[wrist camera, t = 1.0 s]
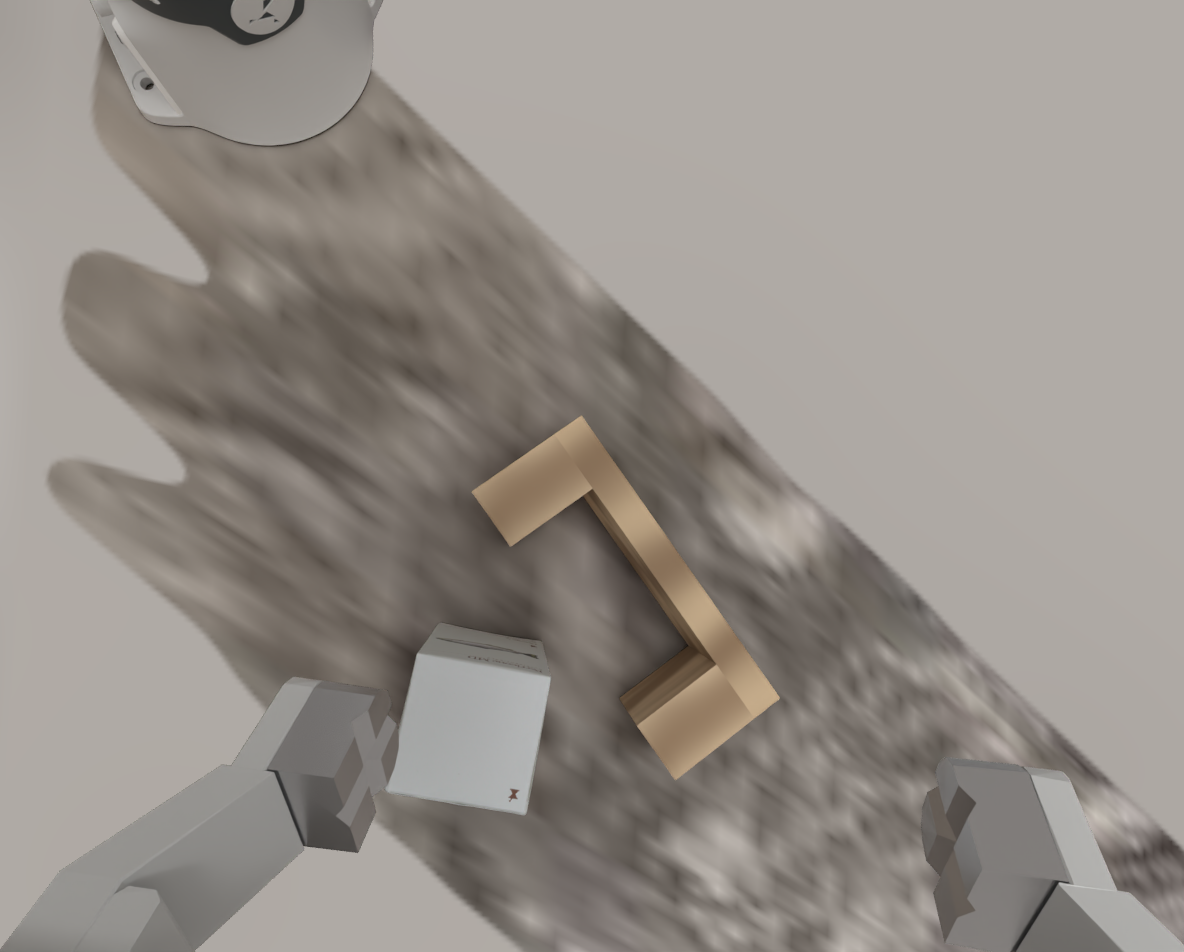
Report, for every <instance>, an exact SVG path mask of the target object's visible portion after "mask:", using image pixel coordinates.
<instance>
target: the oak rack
mask: <svg viewBox="0 0 1184 952" xmlns="http://www.w3.org/2000/svg"><path fill="white" fill-rule="evenodd" d="M471 492H472V493H473V494H474V496H475V497H476V499H477V500H478V502H479V503H480V504H481V506H482V507H483V509H484V510H485V511H486V513H487V514H488V516H489V517H490V519H491V520H492V521H493V523H494V524H495V526H496V527H497V528H498V530H499V531H500V533H501V534H502V536H503V537H504V538H505V540H506V541H507V543H508V544H509V545H510V547H511V546H512V545H514V544H515V543H517V542H518V541H520V540H521V539H522V538H524V537H525V536H527V535H528V534H529V533H531V532H532V531H534V530H535V529H536V528H538V527H539V526H541V525H542V524H543V523H545V522H546V521H548V520H549V519H551V518H552V517H553V516H555V515H556V514H558V513H559V512H560V511H562V510H563V509H565V508H566V507H567V506H569V505H570V504H572V503H573V502H575V501H576V500H577V499H579V498H580V497H582V496H583V497H584V498H585V499H586V501H587V502H588V504H589V505H590V507H591V508H592V509H593V511H594V512H595V514H596V515H597V517H598V518H599V519H600V521H601V522H602V524H603V525H604V526H605V528H606V529H607V531H608V532H609V534H610V535H611V536H612V538H613V539H614V541H615V542H616V544H617V545H618V546H619V548H620V549H621V551H622V552H623V553H624V555H625V556H626V558H627V559H628V561H629V562H630V563H631V565H632V566H633V568H634V569H635V571H636V572H637V573H638V575H639V576H640V578H641V579H642V580H643V582H644V583H645V585H646V586H647V588H648V589H649V590H650V592H651V593H652V595H653V596H654V598H655V599H656V600H657V602H658V603H659V605H660V606H661V607H662V609H663V610H664V612H665V613H666V615H667V616H668V617H669V619H670V620H671V622H672V623H673V625H674V626H675V627H676V629H677V630H678V632H679V633H680V634H681V636H682V637H683V639H684V640H685V642H686V643H687V644H688V646H687V647H686V648H685V649H684V650H682V651H681V652H680V653H678V654H677V655H676V656H674V657H673V658H672V659H670V660H669V661H668V662H666V663H665V664H664V665H662V666H661V667H660V668H658V669H657V670H656V671H654V672H653V673H652V674H651V675H649V676H648V677H647V678H645V679H644V680H643V681H641V682H640V683H639V684H637V685H636V686H635V687H633V688H632V689H631V690H629V691H628V692H627V693H625V694H624V695H623V696H621V697H620V698H619V699H620V701H621V702H622V704H623V705H624V707H625V708H626V710H627V711H628V713H629V714H630V716H631V717H632V719H633V721H634V722H635V724H636V725H637V727H638V728H639V729H640V731H641V732H642V734H643V735H644V736H645V738H646V739H647V741H648V742H649V744H650V745H651V746H652V748H653V749H654V751H655V752H656V753H657V755H658V756H659V758H660V759H661V761H662V762H663V763H664V765H665V766H666V768H667V769H668V770H669V772H670V773H671V775H672V776H673V778H674V779H675V780H677V779H678V778H679V777H680V776H682V775H683V774H684V773H685V772H687V771H688V770H689V769H691V768H692V767H693V766H694V765H696V764H697V763H698V762H699V761H701V760H702V759H703V758H705V757H706V756H707V755H708V754H710V753H711V752H712V751H713V750H715V749H716V748H717V747H719V746H720V745H721V744H722V743H724V742H725V741H726V740H727V739H729V738H730V737H731V736H733V735H734V734H735V733H736V732H738V731H739V730H740V729H741V728H743V727H744V726H745V725H747V724H748V723H749V722H750V721H752V720H753V719H754V718H755V717H757V716H758V715H759V714H761V713H762V712H763V711H764V710H766V709H767V708H768V707H770V706H771V705H772V704H773V703H775V702H776V701H777V700H778V699H780V697H779V696H778V695H777V693H776V692H775V690H774V689H773V687H772V686H771V685H770V683H769V682H768V680H767V679H766V677H765V676H764V675H763V673H762V672H761V670H760V669H759V667H758V666H757V665H756V663H755V662H754V660H753V659H752V657H751V656H750V655H749V653H748V652H747V650H746V649H745V648H744V646H743V645H742V643H741V642H740V640H739V639H738V638H737V636H736V635H735V633H734V632H733V630H732V629H731V628H730V626H729V625H728V623H727V622H726V620H725V619H724V618H723V616H722V615H721V613H720V612H719V611H718V609H717V608H716V606H715V605H714V603H713V602H712V601H711V599H710V598H709V596H708V595H707V593H706V592H705V591H704V589H703V588H702V586H701V585H700V583H699V582H698V581H697V579H696V578H695V576H694V575H693V573H692V572H691V571H690V569H689V568H688V566H687V565H686V564H685V562H684V561H683V559H682V558H681V556H680V555H679V554H678V552H677V551H676V549H675V548H674V546H673V545H672V544H671V542H670V541H669V539H668V538H667V536H666V535H665V534H664V532H663V531H662V529H661V528H660V527H659V525H658V524H657V522H656V521H655V519H654V518H653V517H652V515H651V514H650V512H649V511H648V509H647V508H646V507H645V505H644V504H643V502H642V501H641V499H640V498H639V497H638V495H637V494H636V492H635V491H634V489H633V488H632V487H631V485H630V484H629V482H628V481H627V480H626V478H625V477H624V475H623V474H622V472H621V471H620V470H619V468H618V467H617V465H616V464H615V462H614V461H613V460H612V458H611V457H610V455H609V454H608V452H607V451H606V450H605V448H604V447H603V445H602V444H601V442H600V441H599V440H598V438H597V437H596V435H595V434H594V433H593V431H592V430H591V428H590V427H589V425H588V424H587V423H586V421H585V420H584V418H583V417H582V415H581V416H580V417H578V418H577V419H576V420H574V421H573V422H571V423H570V424H568V425H567V426H565V427H564V428H563V429H561V430H560V431H558V432H557V433H555V434H554V435H552V436H551V437H550V438H548V439H547V440H545V441H544V442H542V443H541V444H539V445H538V446H537V447H535V448H534V449H532V450H531V451H529V452H528V453H526V454H525V455H524V456H522V457H521V458H519V459H518V460H516V461H515V462H513V463H512V464H511V465H509V466H508V467H506V468H505V469H503V470H502V471H500V472H499V473H498V474H496V475H495V476H493V477H492V478H490V479H489V480H487V481H486V482H484V483H483V484H482V485H480V486H479V487H477V488H476V489H474V490H473V491H471Z"/></svg>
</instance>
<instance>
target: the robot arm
mask: <svg viewBox="0 0 1184 952" xmlns="http://www.w3.org/2000/svg"><path fill="white" fill-rule="evenodd" d="M90 2H91V4H92V6H93V9H94V11H95V13H96V15H97V17H98V20H99V22H100V24H101V27H102V29H103V31H104V33H105V36H106V38H107V40H108V42H109V45H110V47H111V49H112V52H113V54H114V56H115V58H116V61H117V63H118V65H119V67H120V70H121V72H122V74H123V76H124V79H125V81H126V83H127V85H128V88H129V90H130V92H131V94H132V97H133V99H134V101H135V103H136V105H137V107H138V108H139V110H140V111H141V113H142V115H143V116H144V117H145V118H146V119H147V120H149V121H151V122H153V123H156V124H161V125H172V126H195V127H199V128H202V129H205V130H208V131H210V132H213V133H215V134H217V135H220V136H222V137H225V138H227V139H230V140H234V141H237V142H242V143H247V144H253V145H282V144H289V143H294V142H298V141H301V140H305V139H307V138H310V137H313V136H315V135H317V134H319V133H321V132H323V131H324V130H326V129H328V128H329V127H331V126H332V125H334V124H335V123H336V122H338V121H339V120H340V119H341V118H342V117H343V116H344V115H345V114H346V113H347V112H348V111H349V110H350V109H351V108H352V107H353V105H354V104H355V103H356V101H357V100H358V98H359V97H360V95H361V93H362V92H363V89H364V87H365V85H366V83H367V80H368V78H369V74H370V71H371V66H372V59H373V25H374V19H375V17H376V15H377V13H378V11H379V9H380V7H381V4H382V2H383V0H90ZM149 84H154V86H153V88H152V89H150V90H145V88H146V86H147V85H149ZM391 706H392V702H391V699H390V696H389V692H388V690H383V689H376V688H369V687H363V686H356V685H349V684H342V683H336V682H329V681H323V680H315V679H307V678H299V677H292V678H291V679H290V680H288V681H287V682H286V683H285V684H283V685H282V687H281V689H280V690H279V692H278V693H277V695H276V696H275V698H274V699H273V701H272V703H271V704H270V706H269V707H268V709H267V710H266V712H265V713H264V715H263V717H262V718H261V720H260V721H259V723H258V725H257V726H256V727H255V729H254V731H253V732H252V734H251V735H250V737H249V738H248V740H247V742H246V743H245V745H244V746H243V748H242V749H241V751H240V752H239V754H238V755H237V757H236V759H235V760H234V762H233V763H232V765H221V766H219V767H218V768H216V769H214V770H213V771H211V772H210V773H208V774H207V775H205V776H204V777H202V778H201V779H199V780H198V781H196V782H195V783H193V784H192V785H190V786H188V787H187V788H185V789H184V790H182V791H181V792H179V793H178V794H176V795H175V796H174V797H172V798H170V799H169V800H167V801H166V802H164V803H163V804H161V805H159V806H158V807H156V808H155V809H153V810H152V811H150V812H149V813H147V814H146V815H144V816H143V817H141V818H140V819H138V820H137V821H135V822H134V823H132V824H130V825H129V826H127V827H126V828H125V829H123V830H121V831H120V832H118V833H117V834H115V835H114V836H112V837H111V838H109V839H108V840H106V841H104V842H103V843H101V844H100V845H98V846H97V847H95V848H94V849H93V850H91V851H89V852H88V853H86V854H85V855H83V856H82V857H80V858H78V859H77V860H75V861H74V862H72V863H71V864H69V865H68V866H66V867H65V868H63V869H62V870H60V871H59V873H58V874H57V875H56V877H55V878H54V879H53V881H52V882H51V883H50V884H49V886H48V887H47V888H46V890H45V891H44V893H43V894H42V895H41V896H40V898H39V899H38V900H37V902H36V903H35V904H34V906H33V907H32V908H31V910H30V911H29V912H28V913H27V915H26V916H25V918H24V919H23V920H22V921H21V923H20V924H19V925H18V927H17V928H16V929H15V931H14V932H13V933H12V935H11V936H10V937H9V938H8V940H7V941H6V942H5V944H4V945H3V946H2V948H1V949H0V952H195V950H196V949H197V948H198V947H199V946H201V945H202V944H203V943H204V942H205V941H206V940H207V939H208V938H209V937H210V936H211V935H212V934H214V933H215V932H216V931H217V930H218V929H219V928H220V927H221V926H222V925H223V924H224V923H225V922H226V921H228V920H229V919H230V918H231V917H232V916H233V915H234V914H235V913H236V912H237V911H238V910H240V909H241V908H242V907H243V906H244V905H245V904H246V903H247V902H248V901H249V900H250V899H252V898H253V897H254V896H255V895H256V894H257V893H258V892H259V891H260V890H261V889H262V888H263V887H264V886H266V885H267V884H268V883H269V882H270V881H271V880H272V879H273V878H274V877H275V876H276V875H277V874H278V873H280V872H281V871H282V870H283V869H284V868H285V867H286V866H287V865H288V864H289V863H290V862H292V861H293V860H294V859H295V858H296V857H297V856H298V855H299V854H300V853H301V852H302V851H303V850H304V847H303V846H307V847H315V848H323V849H331V850H339V851H347V852H355V853H358V852H359V850H360V848H361V845H362V843H363V840H364V838H365V836H366V834H367V831H368V829H369V826H370V825H371V822H372V820H373V818H374V815H375V813H376V810H375V806H374V802H373V798H372V797H373V796H374V795H375V794H377V793H378V792H379V791H380V790H382V789H383V788H384V787H386V786H387V785H388V783H389V780H390V778H391V775H392V773H393V770H394V768H395V764H396V759H397V754H398V750H399V733H398V728H397V724H396V723H395V722H394V721H393V720H392V719H391V718H390V717H389V716H388V712H389V710H390V708H391ZM935 774H936V778H937V782H938V787H936V788H934V789H932V790H930V791H929V792H927V795H926V798H925V801H924V804H923V807H922V820H921V831H922V841H923V847H924V852H925V857H926V861H927V862H928V863H929V864H930V866H931V867H932V868H933V869H934V870H935V871H936V872H937V874H938V875H939V876H940V879H939V881H938V883H937V886H936V888H935V890H934V893H933V894H934V898H935V903H936V907H937V911H938V916H939V920H940V925H941V929H942V934H943V938H944V942H945V943H946V944H951V945H957V946H962V947H968V948H973V949H979V950H984V951H990V952H1184V944H1183V943H1182V942H1181V941H1180V940H1179V939H1178V938H1176V937H1175V936H1174V935H1173V934H1172V933H1171V932H1170V931H1169V930H1168V929H1167V928H1166V927H1165V926H1164V925H1163V924H1162V923H1161V922H1160V921H1159V920H1158V919H1157V918H1156V917H1155V916H1154V915H1152V914H1151V913H1150V912H1149V911H1148V910H1147V909H1146V908H1145V907H1144V906H1143V905H1142V904H1141V903H1140V902H1139V901H1138V900H1137V899H1136V898H1135V897H1134V896H1133V895H1132V894H1131V893H1128V892H1123V891H1117V889H1116V887H1115V884H1114V882H1113V880H1112V877H1111V875H1110V873H1109V870H1108V868H1107V866H1106V863H1105V861H1104V859H1103V856H1102V854H1101V851H1100V849H1099V847H1098V844H1097V842H1096V840H1095V837H1094V835H1093V833H1092V830H1091V828H1090V826H1089V823H1088V821H1087V819H1086V816H1085V814H1084V812H1083V809H1082V807H1081V805H1080V802H1079V800H1078V798H1077V795H1076V793H1075V791H1074V788H1073V786H1072V784H1071V781H1070V779H1069V778H1068V777H1067V776H1066V775H1065V774H1064V773H1063V772H1062V771H1057V770H1050V769H1041V768H1032V767H1020V766H1019V765H1014V764H1005V763H996V762H987V761H977V760H968V759H959V758H950V757H945V758H944V759H942V760H941V761H940V762H939V765H938V767H937V769H936V772H935Z"/></svg>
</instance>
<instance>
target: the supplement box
mask: <svg viewBox="0 0 1184 952" xmlns="http://www.w3.org/2000/svg"><path fill="white" fill-rule="evenodd" d="M550 682H551V675H550V671H549V667H548V662H547V659H546V655H545V651H544V647H543V643H542V641H538V640H530V639H523V638H516V637H510V636H504V635H499V634H493V633H488V632H483V631H478V630H473V629H468V628H463V627H459V626H454V625H450V624H446V623H441V622H440V623H438V625H437V626H436V627H435V629H434V630H433V632H432V633H431V635H430V636H429V638H428V639H427V641H426V642H425V643H424V645H423V646H422V647H421V649H420V650H419V652H418V653H417V654H416V659H415V664H414V668H413V672H412V676H411V680H410V684H409V689H408V693H407V697H406V701H405V705H404V709H403V713H402V717H401V721H400V726H399V730H398V733H399V750H398V754H397V759H396V764H395V768H394V770H393V773H392V775H391V778H390V780H389V783H388V785H387V786H386V787H385V791H386V792H388V793H391V794H397V795H402V796H409V797H416V798H422V799H428V800H434V801H441V802H447V803H452V804H456V805H462V806H472V807H478V808H484V809H490V810H497V811H503V812H509V813H515V814H519V815H525V814H526V813H527V809H528V803H529V798H530V793H531V788H532V782H533V777H534V772H535V767H536V761H537V756H538V750H539V745H540V739H541V733H542V728H543V722H544V717H545V711H546V705H547V699H548V693H549V687H550Z"/></svg>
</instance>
